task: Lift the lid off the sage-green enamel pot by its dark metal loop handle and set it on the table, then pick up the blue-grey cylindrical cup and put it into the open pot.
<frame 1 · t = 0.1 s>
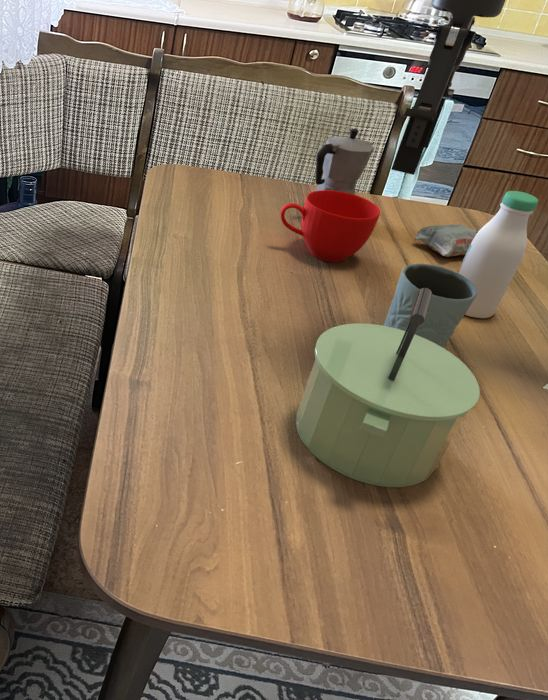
hand: (410, 158, 89), 28 cm above the table, tool pointing down, fingers open, 13 cm apart
packaged food: (449, 253, 133), on the table
lid: (393, 369, 79), point 10 cm above the table, touching pot
coffeepot: (324, 215, 144), on the table
blue-grey cylindrical cup: (408, 351, 102), on the table
pot: (364, 437, 85), on the table
milk bottle: (468, 308, 115), on the table
ceramic cup: (316, 253, 128), on the table
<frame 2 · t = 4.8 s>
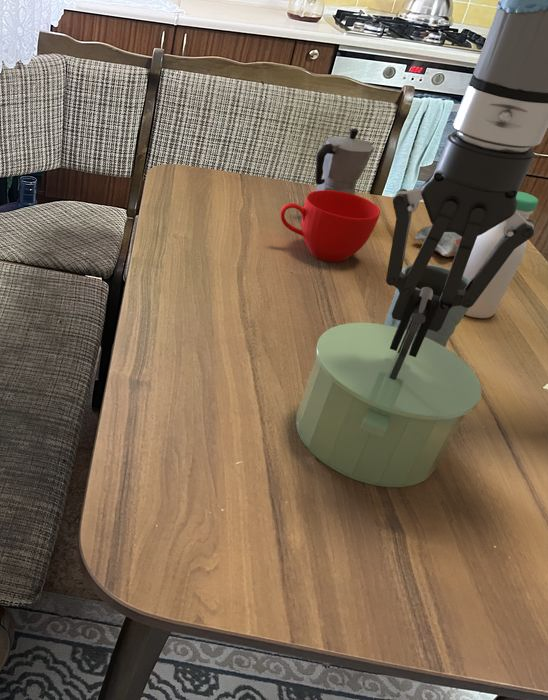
hand: (404, 347, 77), 14 cm above the table, tool pointing down, fingers closed on lid
lid: (395, 368, 79), point 11 cm above the table, touching gripper
everything else where it was.
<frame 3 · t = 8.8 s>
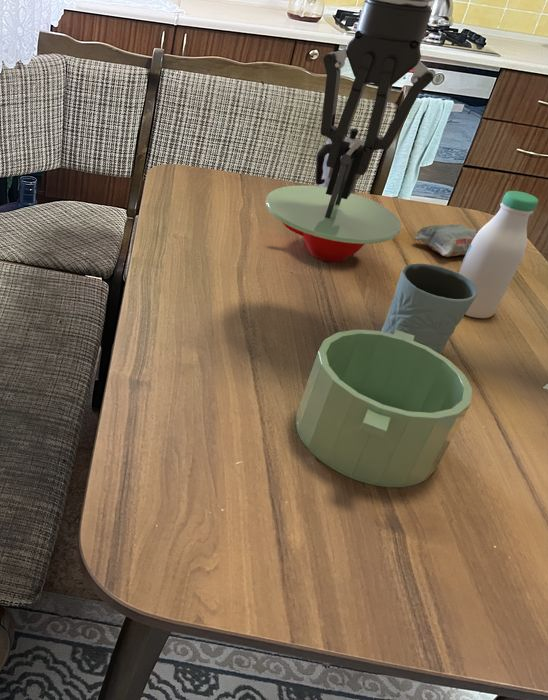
hand: (338, 193, 92), 22 cm above the table, tool pointing down, fingers closed on lid
lid: (331, 214, 94), point 19 cm above the table, touching gripper
everything else where it was.
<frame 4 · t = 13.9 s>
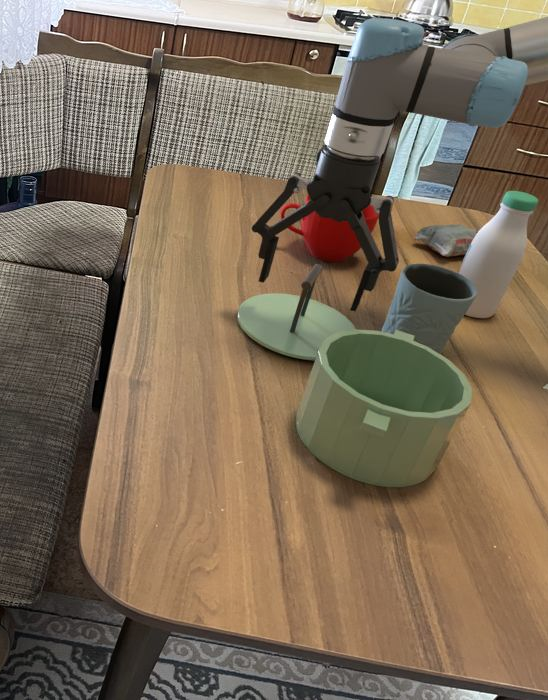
hand: (307, 292, 101), 7 cm above the table, tool pointing down, fingers open, 13 cm apart
lid: (296, 326, 104), point 1 cm above the table
everything else where it was.
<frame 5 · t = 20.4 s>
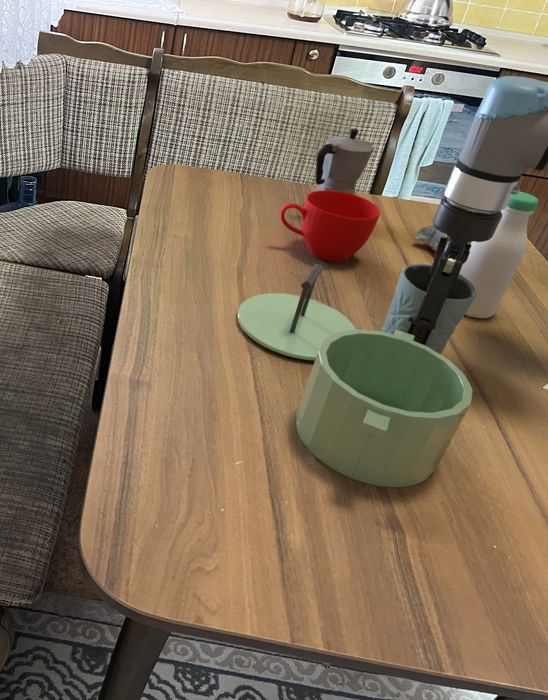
hand: (411, 344, 102), 1 cm above the table, tool pointing down, fingers closed on blue-grey cylindrical cup, 9 cm apart
blue-grey cylindrical cup: (408, 351, 102), on the table, touching gripper
everything else where it was.
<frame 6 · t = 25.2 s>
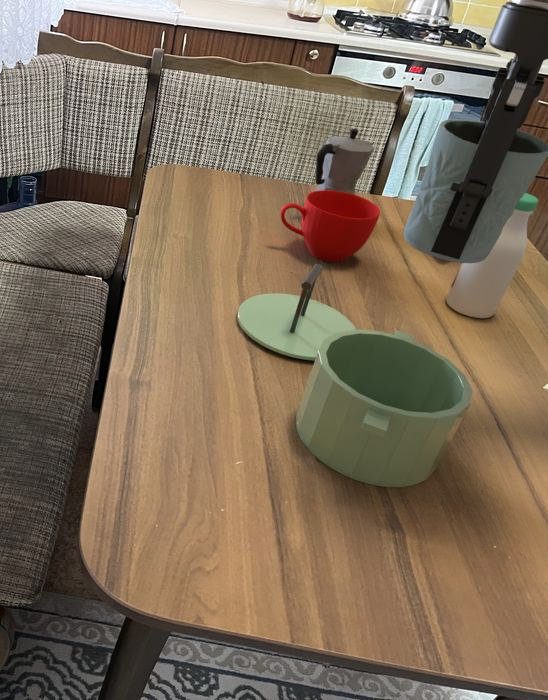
hand: (450, 237, 73), 26 cm above the table, tool pointing down, fingers closed on blue-grey cylindrical cup, 9 cm apart
blue-grey cylindrical cup: (445, 247, 73), point 25 cm above the table, touching gripper
everything else where it was.
when the fingers open (9 cm above the table, at t = 30.0 s): blue-grey cylindrical cup drops 7 cm, resting on pot.
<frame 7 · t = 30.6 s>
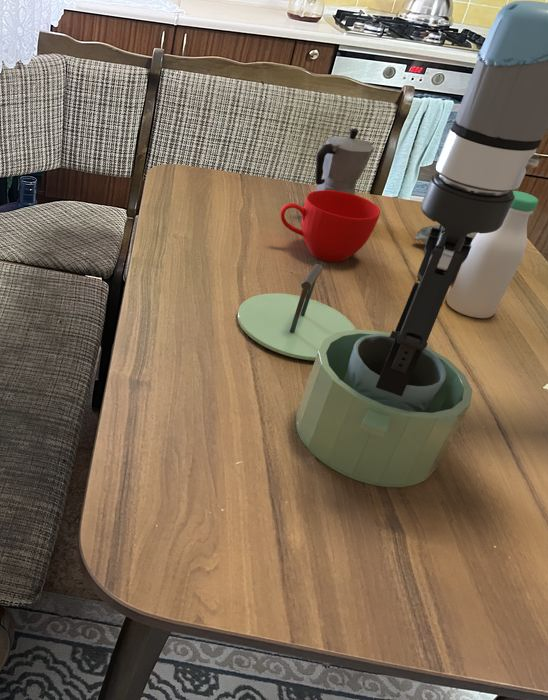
hand: (398, 360, 78), 12 cm above the table, tool pointing down, fingers open, 13 cm apart
blue-grey cylindrical cup: (365, 439, 84), resting on pot
everything else where it was.
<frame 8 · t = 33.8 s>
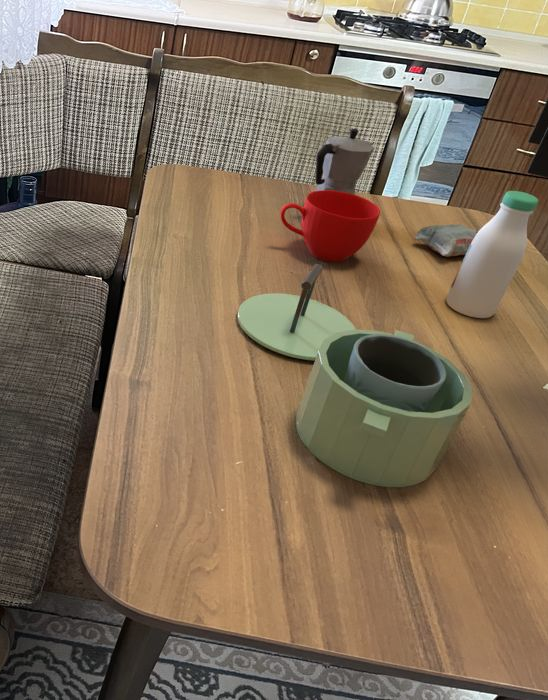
hand: (540, 159, 76), 33 cm above the table, tool pointing down, fingers open, 13 cm apart
nothing on the table moved.
at the end: blue-grey cylindrical cup inside the target area in the pot (0.6 cm from its centre), point 0.3 cm above the pot's base; blue-grey cylindrical cup tilted 0°; lid inside the target area (0.1 cm from its centre), point 0.6 cm above the table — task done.
